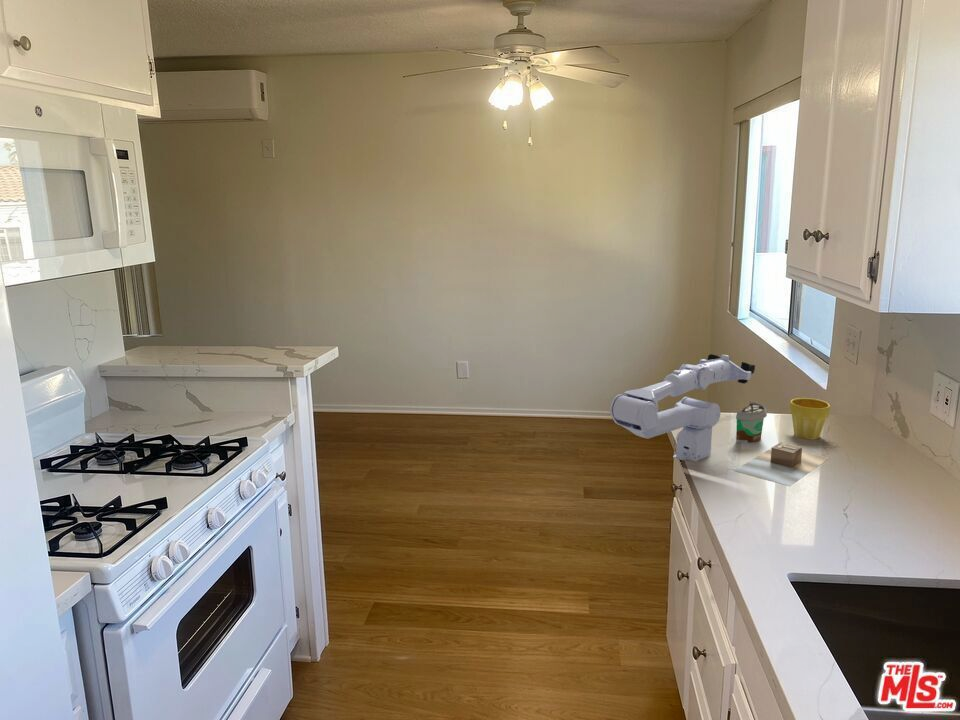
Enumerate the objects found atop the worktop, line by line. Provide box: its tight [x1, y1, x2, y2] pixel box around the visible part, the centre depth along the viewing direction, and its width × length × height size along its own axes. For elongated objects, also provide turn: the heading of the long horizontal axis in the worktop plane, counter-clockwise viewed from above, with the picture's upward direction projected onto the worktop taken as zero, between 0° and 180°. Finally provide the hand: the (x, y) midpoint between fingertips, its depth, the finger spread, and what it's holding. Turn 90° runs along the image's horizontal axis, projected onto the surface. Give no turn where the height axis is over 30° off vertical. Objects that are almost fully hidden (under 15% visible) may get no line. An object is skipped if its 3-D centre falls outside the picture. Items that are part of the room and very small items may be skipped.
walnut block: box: [770, 441, 803, 468], centre depth 184 cm, size 6×6×4 cm
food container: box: [735, 400, 768, 444], centre depth 201 cm, size 12×6×10 cm, turn 143°
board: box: [733, 448, 830, 487], centre depth 183 cm, size 24×14×1 cm, turn 134°
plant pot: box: [789, 397, 831, 440], centre depth 204 cm, size 10×10×10 cm
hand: (740, 365), depth 200 cm, fingers open, 7 cm apart
